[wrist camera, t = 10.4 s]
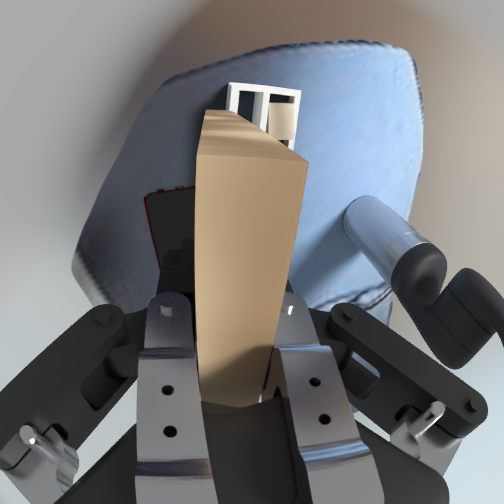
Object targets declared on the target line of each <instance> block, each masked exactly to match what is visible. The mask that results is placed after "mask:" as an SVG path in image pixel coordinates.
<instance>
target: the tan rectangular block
mask: <svg viewBox="0 0 504 504" xmlns="http://www.w3.org/2000/svg"><path fill="white" fill-rule="evenodd" d="M308 165H309V162H308V161H306V160H305V159H304V158H302V157H301V156H299V155H298V154H297V153H295V152H294V151H292V150H291V149H290V148H288V147H287V146H285V145H284V144H282V143H281V142H279V141H278V140H277V139H275V138H274V137H272V136H271V135H269V134H268V133H266V132H265V131H263V130H262V129H260V128H258V127H257V126H255V125H254V124H252V123H251V122H249V121H247V120H246V119H244V118H243V117H241V116H239V115H238V114H236V113H235V112H233V111H225V110H206V112H205V116H204V121H203V126H202V131H201V136H200V141H199V146H198V152H197V163H196V191H195V300H196V329H197V349H198V366H199V381H200V394H201V401H206V402H211V403H216V404H221V405H227V406H233V407H246V406H250V405H253V404H256V403H259V400H260V396H261V392H262V388H263V384H264V380H265V376H266V372H267V368H268V363H269V359H270V355H271V351H272V347H273V342H274V338H275V334H276V329H277V325H278V320H279V316H280V311H281V307H282V302H283V297H284V293H285V288H286V283H287V278H288V273H289V269H290V264H291V259H292V254H293V248H294V243H295V238H296V233H297V228H298V222H299V217H300V211H301V206H302V200H303V194H304V189H305V183H306V177H307V171H308Z"/></svg>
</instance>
